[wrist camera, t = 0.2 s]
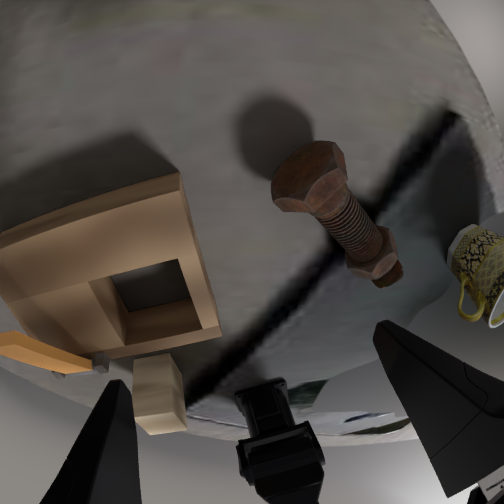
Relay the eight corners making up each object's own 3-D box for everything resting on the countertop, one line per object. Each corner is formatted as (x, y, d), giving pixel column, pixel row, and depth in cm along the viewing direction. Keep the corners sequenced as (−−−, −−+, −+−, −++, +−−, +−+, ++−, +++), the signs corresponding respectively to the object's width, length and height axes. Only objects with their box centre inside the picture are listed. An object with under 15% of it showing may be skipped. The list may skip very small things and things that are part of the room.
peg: (181, 374, 30) (187, 429, 25) (148, 380, 30) (149, 434, 24) (169, 352, 28) (173, 411, 22) (133, 359, 28) (131, 417, 22)
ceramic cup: (489, 201, 28) (546, 240, 20) (480, 261, 34) (525, 302, 25) (420, 238, 28) (484, 294, 20) (416, 301, 34) (462, 356, 25)
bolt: (364, 260, 30) (274, 160, 22) (407, 243, 27) (329, 127, 19) (368, 310, 27) (266, 214, 19) (417, 295, 24) (336, 178, 16)
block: (215, 303, 26) (225, 349, 22) (62, 336, 24) (51, 379, 20) (179, 171, 20) (179, 199, 15) (1, 232, 18) (-29, 268, 13)
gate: (97, 360, 22) (99, 373, 21) (70, 364, 21) (71, 377, 21) (14, 327, 12) (15, 347, 12) (-15, 333, 12) (-15, 352, 11)
